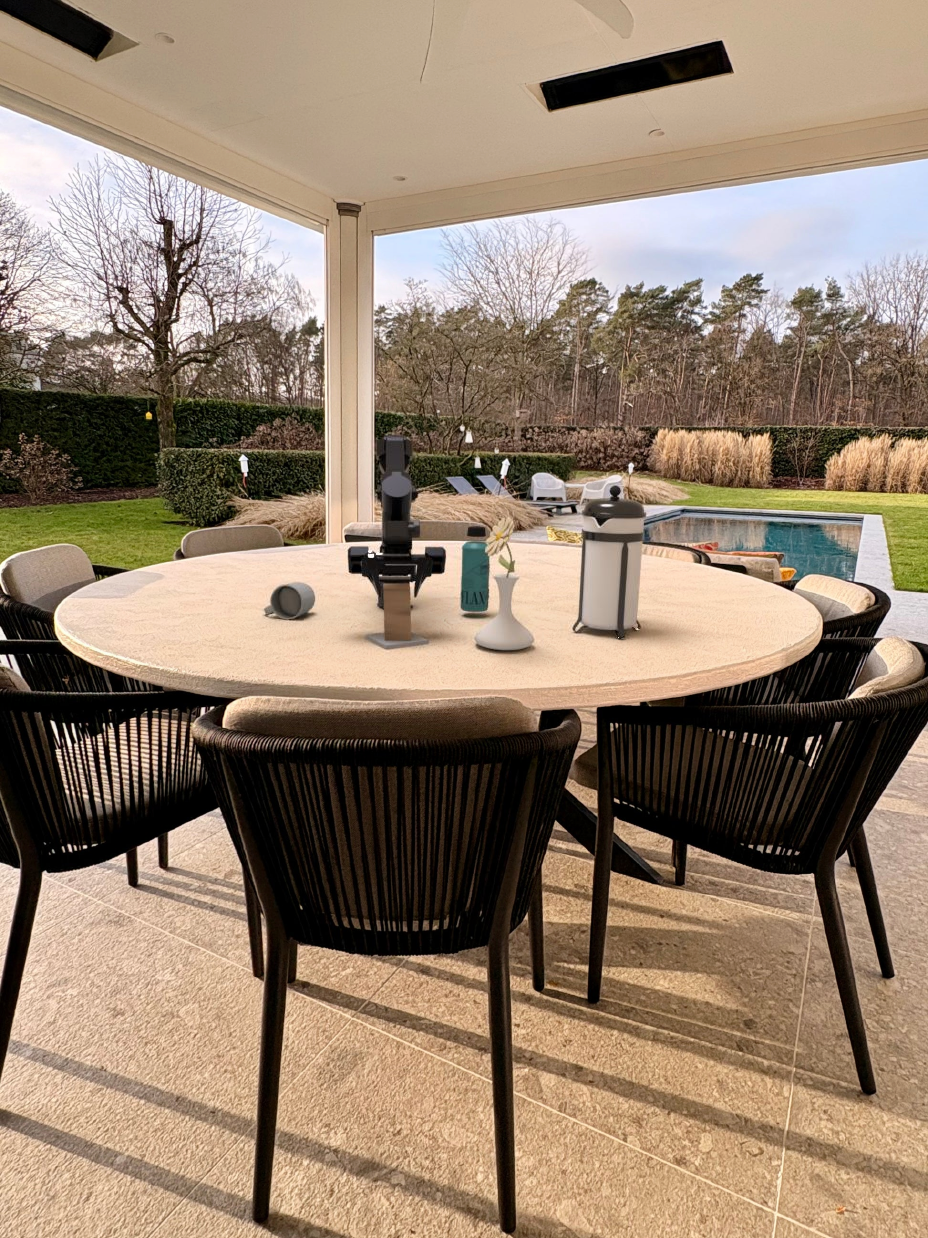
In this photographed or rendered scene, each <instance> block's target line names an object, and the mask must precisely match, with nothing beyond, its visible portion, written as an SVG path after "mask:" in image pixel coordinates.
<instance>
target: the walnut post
mask: <svg viewBox="0 0 928 1238" xmlns="http://www.w3.org/2000/svg"><path fill="white" fill-rule="evenodd" d="M410 584H411V583H410ZM410 584H409V583H385V584H383V595H384V608H383V630H384V631H383V633H384V637H385V641H394V640H411V632H412V618H411V617H412V616H411V615H412V608H411V605H412V604H411V603H412V602H411V599H412V598H411V596H412V595H411V586H410Z"/></svg>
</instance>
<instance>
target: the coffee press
mask: <svg viewBox="0 0 928 1238" xmlns="http://www.w3.org/2000/svg"><path fill="white" fill-rule="evenodd" d="M621 492H622V489H621V487H620V486H618V485H613V486H611V487H610V489H609V494H610V495H611V496H610V497H599V498H594V499H592V500H590V501H588V502H587V503H586V504H585V506H584V509H583V510H581V515H582V519H583V521H582V528H581V539H582V541H581V557H580V558H581V562H580V577H579V578H580V580H579V598H578V599H579V600H578V615H577V620H576V622H575V623H574V624H573V626H572V631H573V632H574V633H576V634H580V633H581V632H582V631H583V630H584V629H587V628H591V629H596V630H602V631H603V630H604V631H605V630H606V631H612V632H614V635H615V637H617V638H618V637H619V639H618V640H622V639H621V638H625V639H626V631H625V630H628V629H630V628H631V629H632V628H633V629H632V630H634V629H635V627H634V626H635V625H636V624H637V627H636V628H638V629H640V630H641V628H642V624H641V623H640V622H639V620H638V611H639V610H638V609H639V597H640V583H641V581H640V580H641V569H642V568H641V567H642V553H643V542H644V540H645V531H644V528H645V527H644V524H645V523H644V522H645V519H646V517H647V512H646V511H645V508H644V505H643V504H642V503H641V502H639V501H637V500H635V499H630V498H620V496H619V495H620V494H621ZM580 623H581V624H582V626H580V627H579V628H578V629H576V628H577V627H578V626H579V624H580ZM617 638H616V639H617Z"/></svg>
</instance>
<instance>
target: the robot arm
mask: <svg viewBox="0 0 928 1238" xmlns="http://www.w3.org/2000/svg"><path fill="white" fill-rule="evenodd" d="M413 444H414V443H413V441H412V440H410V439H408V438H407V436H404V435H402V434H387V435H383V438H380V439H378V440H376V441H375V445H376V446H375V447H376V448H375V451H376V452H375V455H376V460H377V461H378V460H379V461H378V462H379V470H380V472H381V475H380V484H378V485H377V486H376V490H377V491H376V493H377V494H376V497H377V499H376V500H377V503H380V507H381V509H382V511H381V544H380V546H379V552H375V551H373V550H369V546H367V545H366V546H365V545H364V546H358V545H357V546H356V545H355V546H354V545H353V546H352V545H351V546H349V548H347V565H348V573H349V574H351V575H361V576H362V577H363V578H367V579H368V580H369V582H370V583H371V585H372V587H373V589H374V591H375V593H376V595H377V602H376V606H378V607H380V608H383V609H384V595H383V584H385V583H409V584H411V583H414V585H413V586H414V587H413V598H417V596H418V595H419V591H420V589H421V587H422V585H423V583H424V582H425V580H426V579H427V578H430V577H432V575H442V574H444V573H445V570H446V559H447V551H446V549H445V548H444V547H443V546H425V547H424V548H425V549H424V553H422V554H420V553H419V554H418V553H417V554H416V553H412V550H413V539H420V536H421V523H420V522H421V519H412V518H411V509H412V504H413V503H414V504H415V502H416V499H417V498H419V491H418V490H417V489H416V487H415V485H413V484H412V477H411V475H410V474H409V473H408V471H409V468H410V461H413V458H414V456H413V455H414V454H413V451H414V450H413V449H414V445H413ZM412 608H414V605H412V604H411V609H412Z"/></svg>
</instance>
